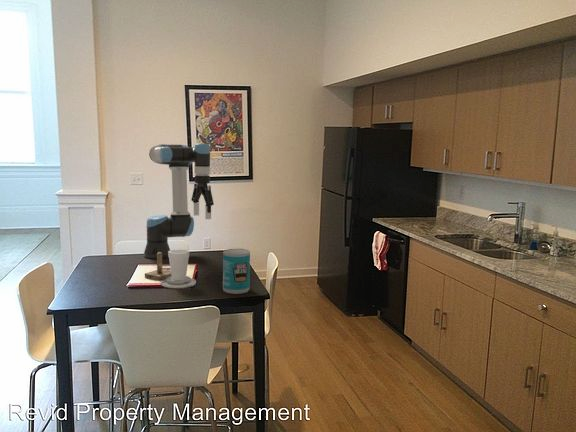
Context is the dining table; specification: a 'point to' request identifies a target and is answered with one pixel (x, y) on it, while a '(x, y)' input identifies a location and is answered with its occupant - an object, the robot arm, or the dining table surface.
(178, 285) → the grey plate
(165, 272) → the stand
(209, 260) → the dining table surface
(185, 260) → the foam cup
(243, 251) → the food can
